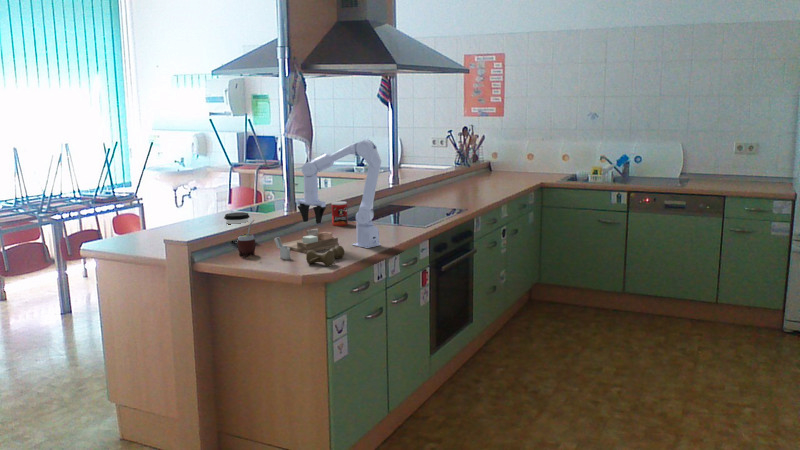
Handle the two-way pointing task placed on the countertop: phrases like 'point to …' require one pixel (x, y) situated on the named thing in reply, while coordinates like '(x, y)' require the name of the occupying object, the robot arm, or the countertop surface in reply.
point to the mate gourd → (246, 243)
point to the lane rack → (312, 245)
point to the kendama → (325, 256)
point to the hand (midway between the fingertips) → (312, 222)
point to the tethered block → (320, 234)
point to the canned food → (339, 213)
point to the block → (309, 239)
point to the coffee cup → (236, 218)
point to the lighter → (282, 249)
